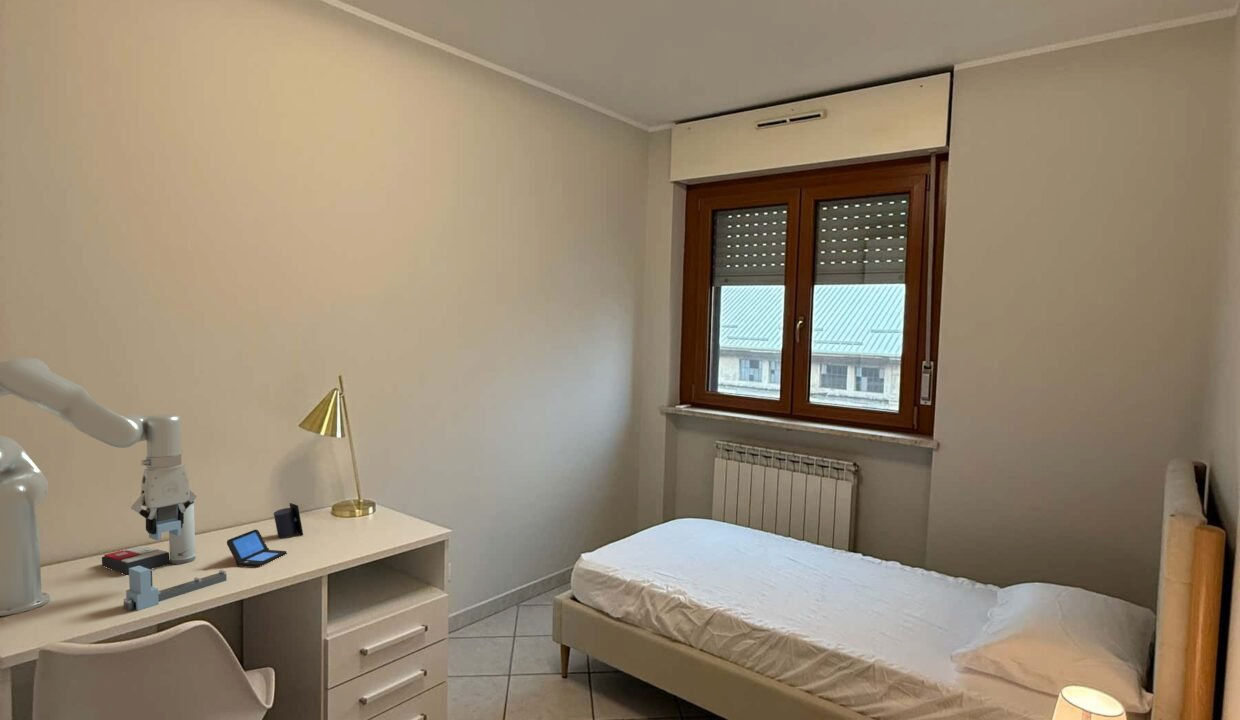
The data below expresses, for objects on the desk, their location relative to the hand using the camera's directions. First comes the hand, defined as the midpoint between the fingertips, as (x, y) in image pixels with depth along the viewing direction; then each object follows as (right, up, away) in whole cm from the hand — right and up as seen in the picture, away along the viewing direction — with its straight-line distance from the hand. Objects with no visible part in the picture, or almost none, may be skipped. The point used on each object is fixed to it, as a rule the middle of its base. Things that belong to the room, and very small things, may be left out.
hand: (165, 529), depth 176 cm
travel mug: (-8, -14, +20) cm, 26 cm away
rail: (+7, -15, -6) cm, 18 cm away
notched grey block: (0, -2, 0) cm, 2 cm away
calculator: (-19, -15, +17) cm, 30 cm away
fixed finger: (+3, -15, -12) cm, 20 cm away
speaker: (+11, -13, +43) cm, 47 cm away
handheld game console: (+13, -15, +21) cm, 29 cm away
